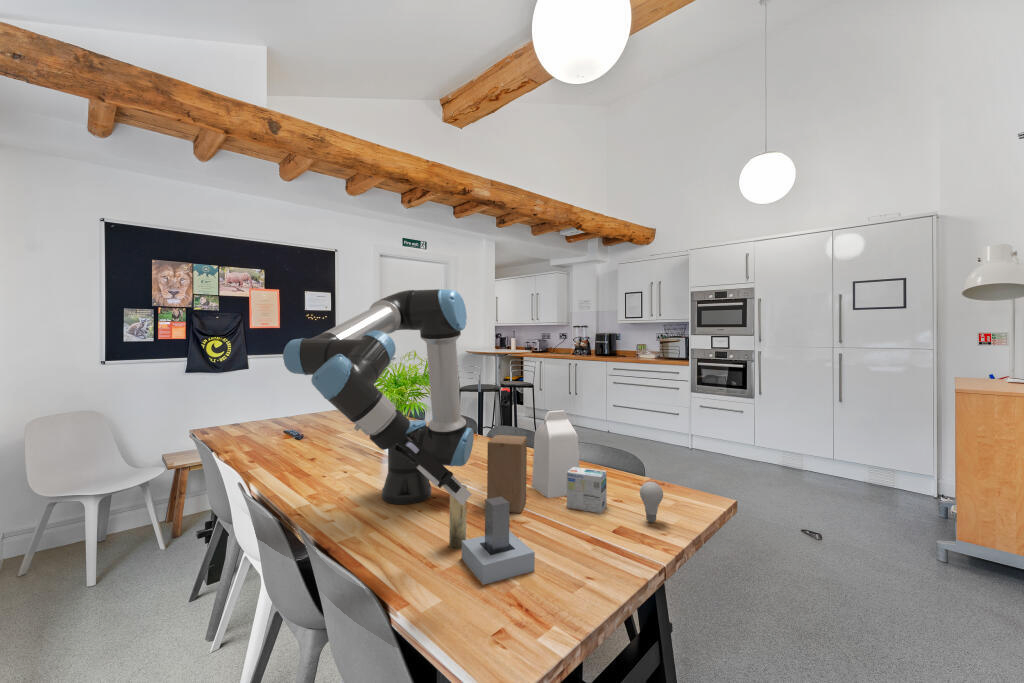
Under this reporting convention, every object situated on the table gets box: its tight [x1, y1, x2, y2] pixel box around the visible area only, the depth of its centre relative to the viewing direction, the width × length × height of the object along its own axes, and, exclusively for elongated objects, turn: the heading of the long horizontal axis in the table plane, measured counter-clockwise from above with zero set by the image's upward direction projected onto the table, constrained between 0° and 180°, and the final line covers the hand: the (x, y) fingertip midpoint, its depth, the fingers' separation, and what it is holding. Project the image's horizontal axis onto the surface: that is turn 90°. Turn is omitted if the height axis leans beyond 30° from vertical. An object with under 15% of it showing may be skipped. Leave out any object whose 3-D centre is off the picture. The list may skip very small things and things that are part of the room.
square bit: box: [484, 497, 510, 555], centre depth 96 cm, size 4×4×14 cm
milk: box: [531, 410, 580, 499], centre depth 144 cm, size 12×12×26 cm
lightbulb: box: [639, 481, 664, 524], centre depth 119 cm, size 6×6×11 cm
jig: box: [461, 530, 536, 586], centre depth 96 cm, size 12×12×4 cm
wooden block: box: [486, 434, 528, 514], centre depth 130 cm, size 10×10×20 cm
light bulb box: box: [566, 467, 608, 514], centre depth 129 cm, size 11×7×11 cm, turn 65°
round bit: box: [448, 484, 468, 550], centre depth 105 cm, size 4×4×14 cm
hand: (452, 489), depth 92 cm, fingers open, 13 cm apart
